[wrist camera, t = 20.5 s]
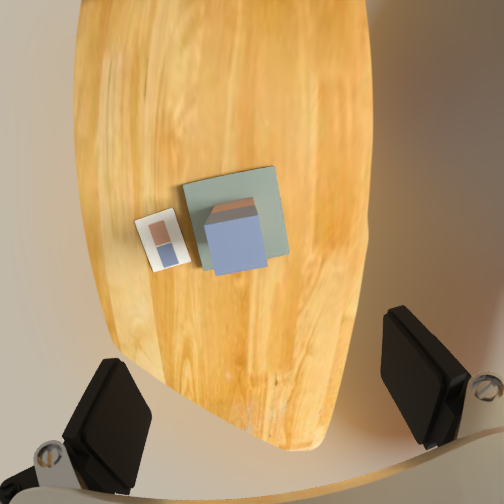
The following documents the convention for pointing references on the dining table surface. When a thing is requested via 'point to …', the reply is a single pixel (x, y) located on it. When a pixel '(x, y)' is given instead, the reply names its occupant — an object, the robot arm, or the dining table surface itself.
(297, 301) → the dining table surface
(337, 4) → the dining table surface
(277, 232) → the baseplate
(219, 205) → the brick
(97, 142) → the dining table surface
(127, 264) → the dining table surface
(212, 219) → the brick
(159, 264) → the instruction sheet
